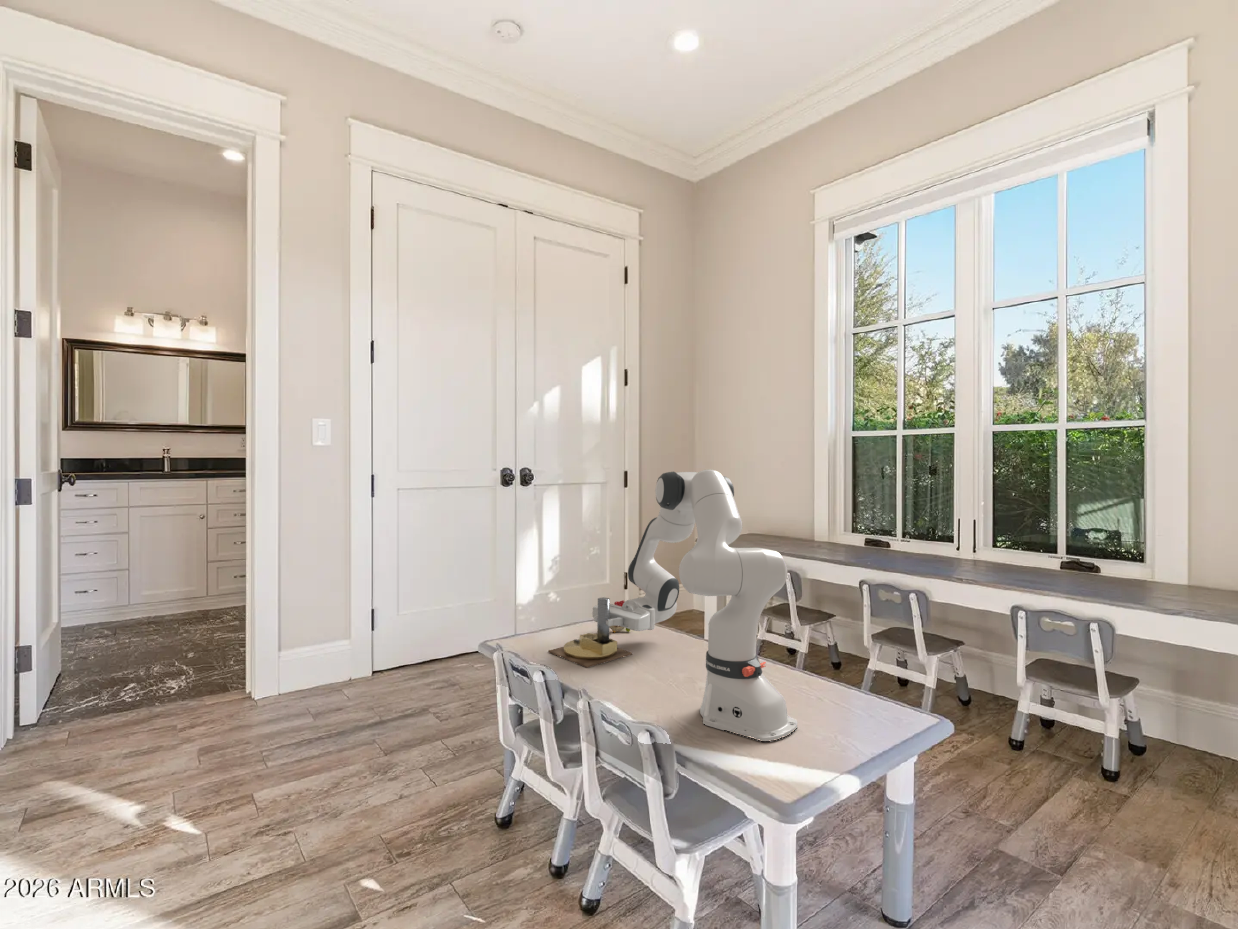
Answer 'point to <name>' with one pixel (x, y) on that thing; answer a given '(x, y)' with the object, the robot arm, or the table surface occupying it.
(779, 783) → the table surface
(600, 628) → the pin
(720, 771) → the table surface
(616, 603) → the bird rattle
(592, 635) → the gold round base
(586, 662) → the base plate
